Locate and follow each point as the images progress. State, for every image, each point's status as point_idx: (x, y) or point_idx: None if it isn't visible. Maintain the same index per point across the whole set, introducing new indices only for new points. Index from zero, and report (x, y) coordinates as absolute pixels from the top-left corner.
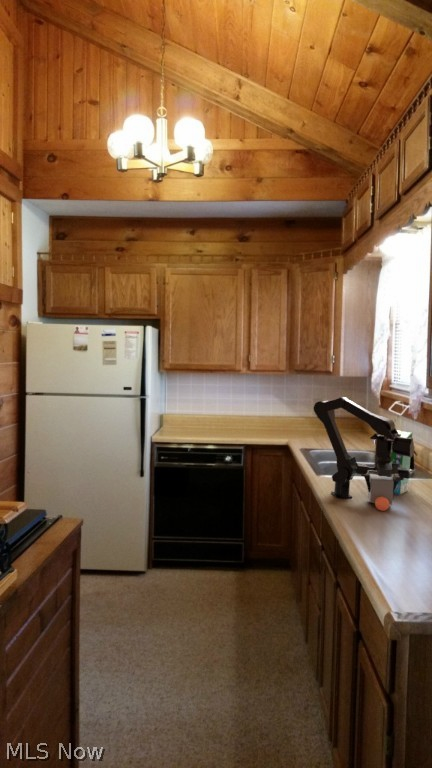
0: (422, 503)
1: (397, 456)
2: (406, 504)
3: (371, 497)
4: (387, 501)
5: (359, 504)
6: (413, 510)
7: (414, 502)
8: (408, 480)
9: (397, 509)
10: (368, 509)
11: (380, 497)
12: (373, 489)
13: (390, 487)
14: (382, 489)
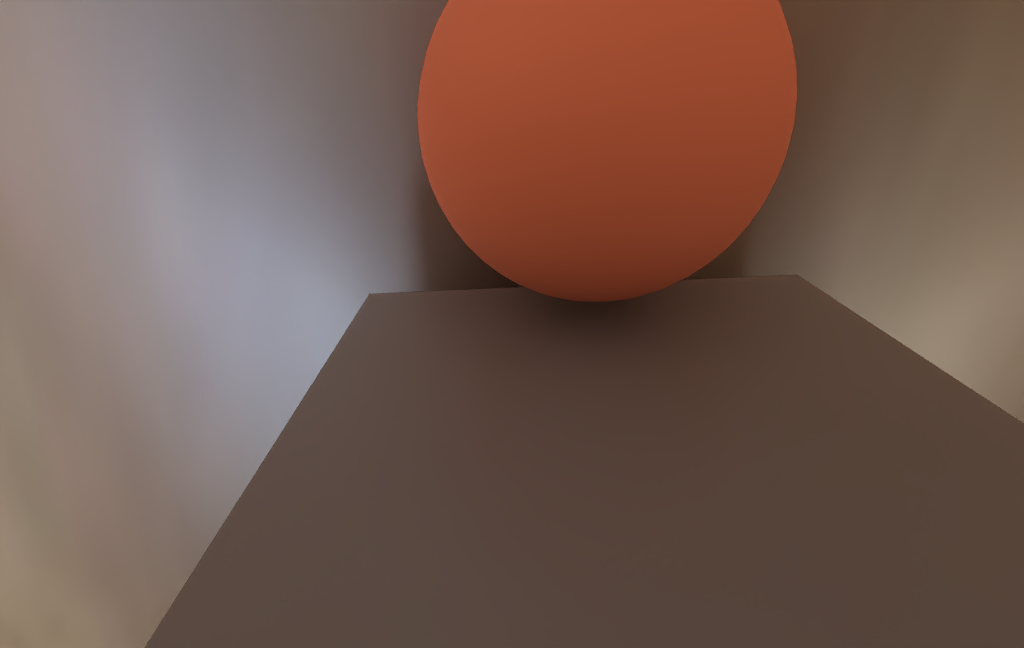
0: (19, 635)
1: None
2: (193, 545)
3: (842, 319)
4: (477, 8)
5: (905, 305)
6: (48, 340)
7: (114, 636)
8: None
9: (294, 291)
10: (831, 72)
11: (716, 106)
12: (985, 467)
13: (290, 643)
14: (653, 507)
